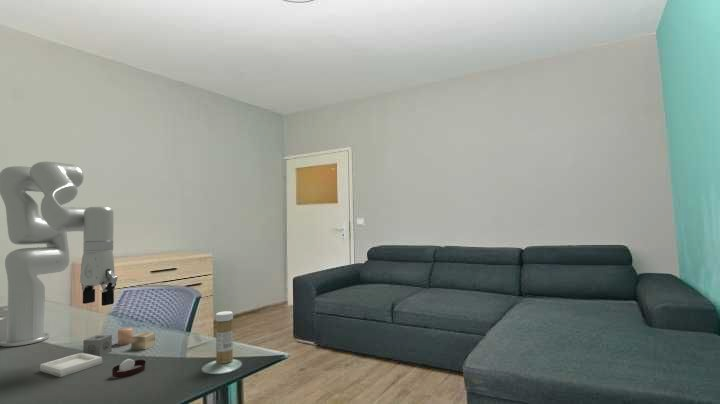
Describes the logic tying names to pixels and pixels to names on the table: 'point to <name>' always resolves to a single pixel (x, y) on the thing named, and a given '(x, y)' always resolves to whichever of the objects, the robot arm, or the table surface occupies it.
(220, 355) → the sprinkles bottle
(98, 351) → the grey marked block
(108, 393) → the table surface
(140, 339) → the oak block
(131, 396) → the table surface
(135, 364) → the watch
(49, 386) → the table surface
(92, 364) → the dish
